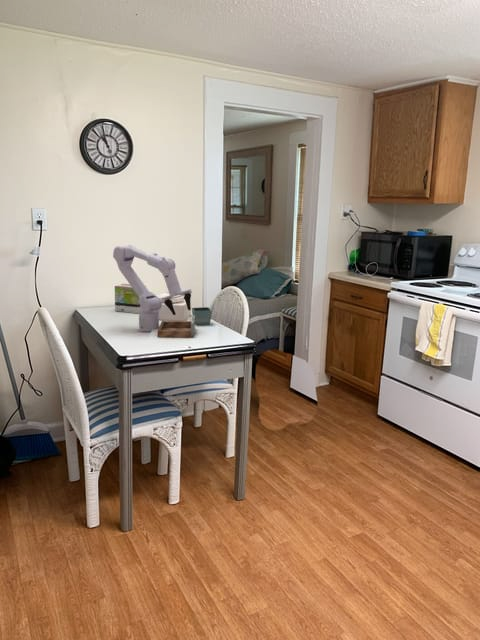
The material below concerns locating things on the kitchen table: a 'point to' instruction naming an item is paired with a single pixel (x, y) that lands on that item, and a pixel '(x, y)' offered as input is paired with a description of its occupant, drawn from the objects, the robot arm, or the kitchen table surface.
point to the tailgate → (193, 325)
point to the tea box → (126, 299)
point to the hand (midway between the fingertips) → (182, 312)
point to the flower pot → (202, 315)
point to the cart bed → (175, 329)
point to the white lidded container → (178, 306)
